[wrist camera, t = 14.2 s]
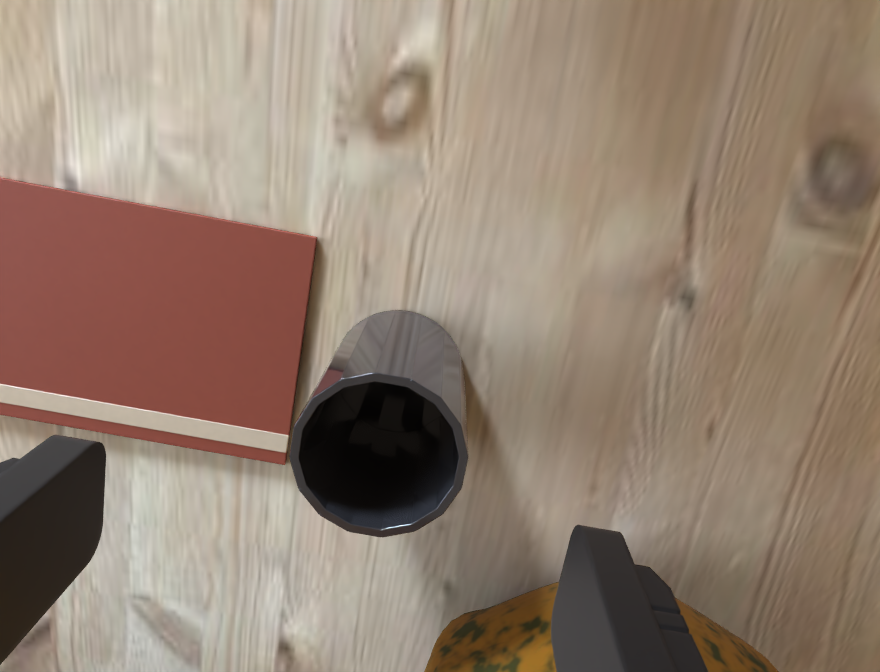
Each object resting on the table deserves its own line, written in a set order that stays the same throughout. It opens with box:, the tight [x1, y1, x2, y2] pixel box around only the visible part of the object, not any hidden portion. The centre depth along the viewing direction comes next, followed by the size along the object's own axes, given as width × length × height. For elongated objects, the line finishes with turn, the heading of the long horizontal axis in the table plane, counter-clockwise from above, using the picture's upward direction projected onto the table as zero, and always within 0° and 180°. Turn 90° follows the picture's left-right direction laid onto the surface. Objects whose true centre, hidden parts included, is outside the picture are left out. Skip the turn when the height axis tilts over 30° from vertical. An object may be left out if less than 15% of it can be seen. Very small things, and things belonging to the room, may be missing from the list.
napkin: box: [0, 178, 317, 465], centre depth 35 cm, size 16×12×1 cm
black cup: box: [290, 310, 468, 537], centre depth 31 cm, size 6×6×10 cm
